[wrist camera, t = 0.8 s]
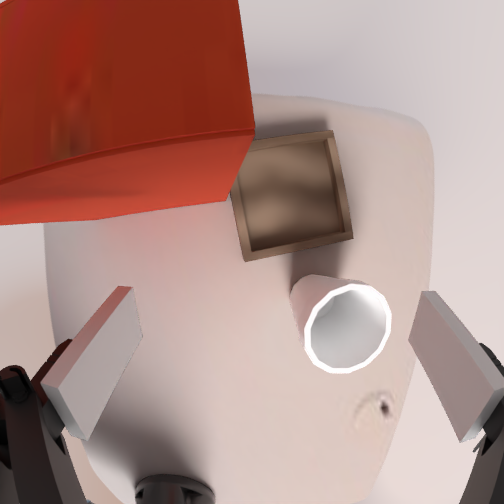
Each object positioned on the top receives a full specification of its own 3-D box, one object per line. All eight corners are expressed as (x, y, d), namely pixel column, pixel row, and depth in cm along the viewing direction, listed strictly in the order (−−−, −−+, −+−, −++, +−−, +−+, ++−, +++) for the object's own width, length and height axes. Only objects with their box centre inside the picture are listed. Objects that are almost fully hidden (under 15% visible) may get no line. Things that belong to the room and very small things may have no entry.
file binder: (90, 159, 36) (-107, 85, 4) (218, 138, 38) (228, -64, 6) (95, 220, 37) (-120, 244, 6) (225, 200, 39) (257, 145, 7)
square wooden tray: (346, 237, 41) (353, 238, 38) (243, 259, 40) (245, 262, 37) (326, 134, 39) (332, 130, 36) (221, 150, 38) (221, 145, 35)
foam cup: (307, 342, 42) (340, 389, 29) (263, 298, 41) (283, 334, 28) (356, 295, 42) (405, 325, 29) (316, 247, 41) (358, 263, 28)
